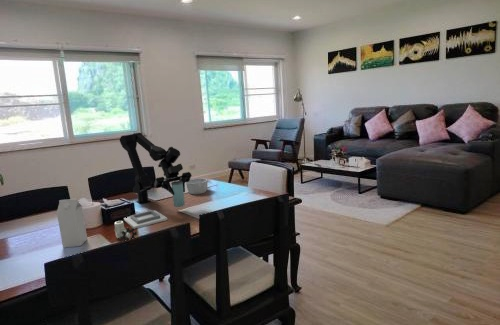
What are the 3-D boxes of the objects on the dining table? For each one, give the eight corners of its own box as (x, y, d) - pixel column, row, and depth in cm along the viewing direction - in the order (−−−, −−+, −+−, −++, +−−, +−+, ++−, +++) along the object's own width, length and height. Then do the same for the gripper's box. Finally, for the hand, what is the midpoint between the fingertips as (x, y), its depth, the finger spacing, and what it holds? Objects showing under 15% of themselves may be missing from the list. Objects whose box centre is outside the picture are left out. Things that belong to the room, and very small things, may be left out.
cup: (171, 205, 179) (169, 182, 176) (182, 202, 182) (179, 180, 180) (176, 207, 174) (174, 184, 172) (186, 205, 177) (184, 182, 175)
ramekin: (182, 194, 210) (181, 183, 209) (193, 188, 222) (192, 178, 221) (201, 195, 205) (200, 184, 204) (212, 189, 217) (211, 178, 216)
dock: (123, 220, 170) (123, 215, 170) (155, 212, 179) (154, 208, 179) (134, 228, 158) (133, 224, 157) (167, 219, 167) (167, 215, 166)
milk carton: (70, 241, 148) (62, 197, 145) (87, 239, 149) (80, 196, 145) (62, 248, 141) (54, 202, 138) (80, 246, 142) (73, 201, 138)
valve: (111, 238, 149) (122, 246, 140) (109, 223, 147) (119, 230, 138) (126, 233, 153) (137, 240, 144) (124, 219, 152) (135, 225, 143)
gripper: (153, 162, 172) (164, 188, 165) (188, 156, 182) (200, 180, 175) (149, 175, 179) (160, 200, 173) (183, 169, 190) (194, 192, 183)
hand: (179, 193), depth 176 cm, fingers closed on cup, 5 cm apart
